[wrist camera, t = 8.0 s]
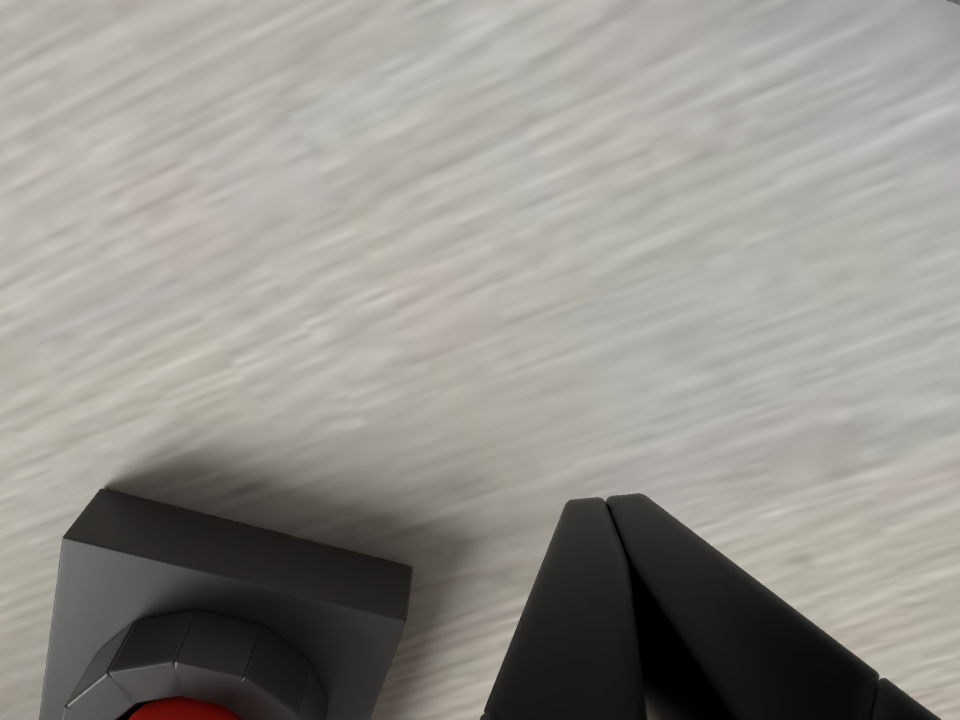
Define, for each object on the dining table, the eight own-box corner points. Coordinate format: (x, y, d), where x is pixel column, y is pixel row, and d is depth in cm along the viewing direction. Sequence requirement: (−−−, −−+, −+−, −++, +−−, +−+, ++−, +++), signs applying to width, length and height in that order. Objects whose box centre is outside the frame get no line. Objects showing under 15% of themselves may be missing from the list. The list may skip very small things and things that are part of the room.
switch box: (413, 566, 23) (401, 673, 19) (339, 768, 26) (317, 892, 22) (100, 487, 21) (23, 585, 18) (67, 710, 25) (-3, 831, 21)
